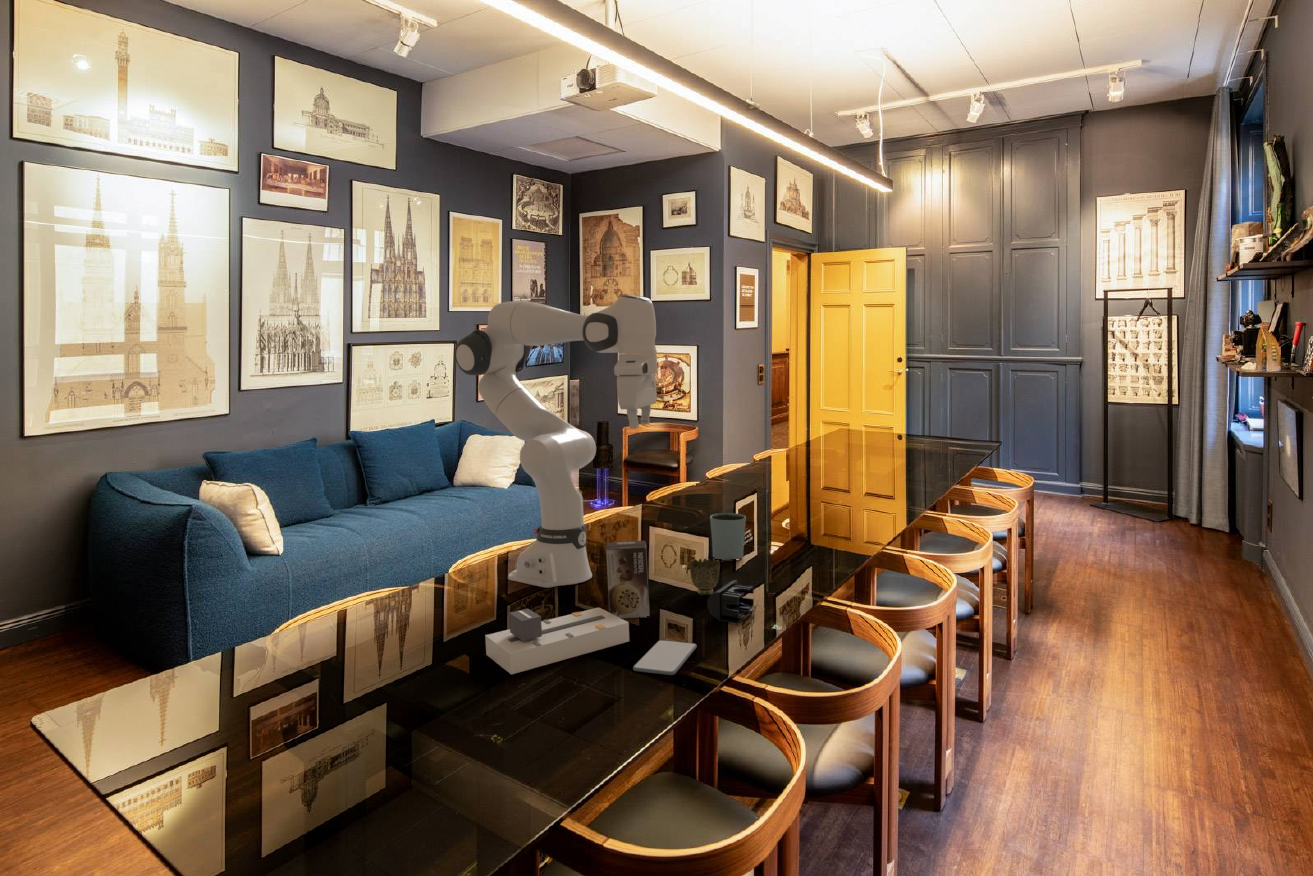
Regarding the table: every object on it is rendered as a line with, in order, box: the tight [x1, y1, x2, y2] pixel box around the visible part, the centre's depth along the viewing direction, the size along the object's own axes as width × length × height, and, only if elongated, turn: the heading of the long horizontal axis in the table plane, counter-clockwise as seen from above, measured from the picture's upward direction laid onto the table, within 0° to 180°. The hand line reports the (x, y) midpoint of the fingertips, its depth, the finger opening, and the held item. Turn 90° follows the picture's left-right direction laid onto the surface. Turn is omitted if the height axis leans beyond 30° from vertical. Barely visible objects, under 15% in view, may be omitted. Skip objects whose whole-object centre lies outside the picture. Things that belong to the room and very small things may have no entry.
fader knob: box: [508, 608, 542, 641], centre depth 149 cm, size 4×6×4 cm, turn 34°
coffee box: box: [605, 540, 650, 619], centre depth 171 cm, size 9×6×16 cm
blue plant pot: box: [709, 512, 747, 560], centre depth 216 cm, size 10×10×12 cm
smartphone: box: [632, 640, 698, 676], centre depth 147 cm, size 8×1×15 cm
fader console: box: [484, 607, 630, 675], centre depth 153 cm, size 26×12×4 cm, turn 124°
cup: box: [689, 558, 721, 596], centre depth 184 cm, size 8×7×8 cm
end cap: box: [707, 579, 755, 624], centre depth 169 cm, size 10×7×7 cm
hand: (639, 426), depth 176 cm, fingers open, 8 cm apart
